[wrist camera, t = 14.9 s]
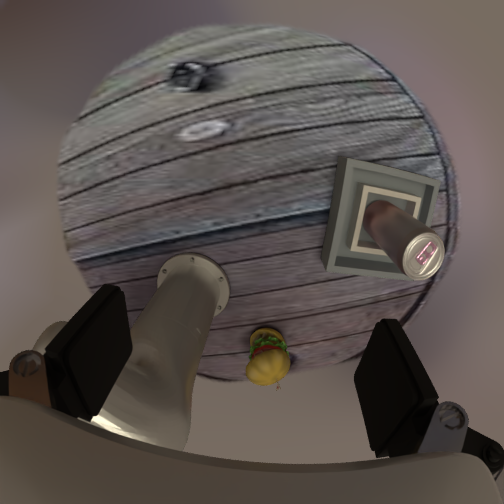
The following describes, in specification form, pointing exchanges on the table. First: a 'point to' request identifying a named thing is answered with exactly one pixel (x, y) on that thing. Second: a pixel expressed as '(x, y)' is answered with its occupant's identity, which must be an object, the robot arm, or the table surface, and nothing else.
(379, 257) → the box
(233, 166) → the table surface
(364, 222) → the beverage can
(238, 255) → the table surface
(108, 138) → the table surface
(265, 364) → the hamburger
